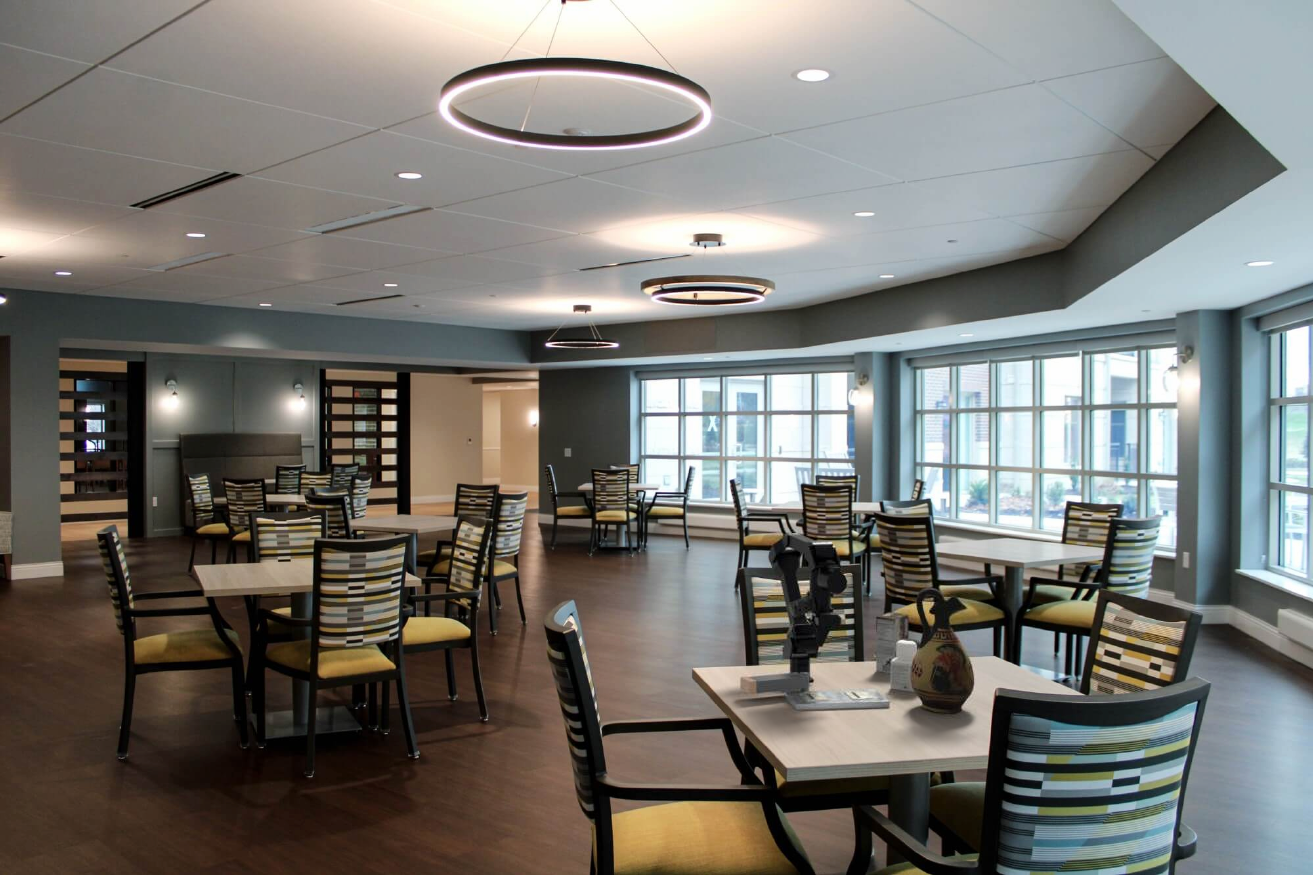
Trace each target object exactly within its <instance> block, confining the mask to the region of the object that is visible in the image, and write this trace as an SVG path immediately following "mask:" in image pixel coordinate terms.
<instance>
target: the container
mask: <svg viewBox="0 0 1313 875" xmlns="http://www.w3.org/2000/svg"><path fill="white" fill-rule="evenodd" d="M920 642H921V641H919V640H916V639H913V638H908V639H900V640H898V641H897V642H896V656H897V657H896V658H894V659H893V660H891V674H890V689H891V690H897V691H905V692H913V693H915V692H914V690H913V688H912V685H911V680H910V672H911V665H912V662H913V658H914V656H915V654H916V652H917V650H918V648H919V646H920Z"/></svg>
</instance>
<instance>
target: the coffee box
mask: <svg viewBox="0 0 1313 875" xmlns="http://www.w3.org/2000/svg"><path fill="white" fill-rule="evenodd" d="M875 619H876V620H875V622H876V623H875V624H876V625H875V626H876V627H875V628H876V631H875V632H876V633H875V634H876V637H875V638H876V639H875V642H876V643H875V646H876V648H875V649H876V650H875V654H876V655H875V657H876V659H875V660H876V661H875V666H876V667H875V668H876V669H875V670H876V672H880V673H885V674H890V675H891V660H893V659H894V658H896V657H897V656H896V642H897V641H898V640H900V639H909V614H903V613H898V612H892V611H891V612H889V611H888V612H886V613H883V614H880V615H877V616H876V617H875Z"/></svg>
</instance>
